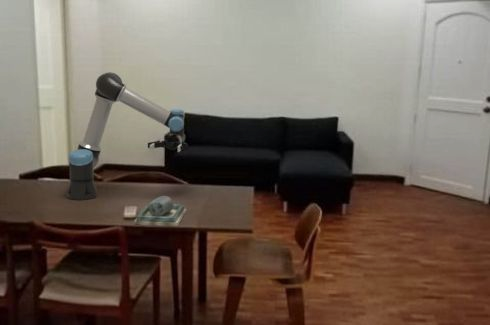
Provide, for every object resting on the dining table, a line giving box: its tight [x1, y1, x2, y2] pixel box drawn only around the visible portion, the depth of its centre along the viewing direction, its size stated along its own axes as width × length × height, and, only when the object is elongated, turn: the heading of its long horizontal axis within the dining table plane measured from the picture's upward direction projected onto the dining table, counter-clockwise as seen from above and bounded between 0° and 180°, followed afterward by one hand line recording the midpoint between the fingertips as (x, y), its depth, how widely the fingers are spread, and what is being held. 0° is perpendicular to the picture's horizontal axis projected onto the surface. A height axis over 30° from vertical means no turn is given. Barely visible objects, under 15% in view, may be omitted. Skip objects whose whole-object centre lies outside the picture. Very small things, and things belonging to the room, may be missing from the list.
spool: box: [148, 195, 174, 217], centre depth 247 cm, size 14×10×10 cm
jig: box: [133, 203, 187, 227], centre depth 248 cm, size 19×22×4 cm
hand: (164, 148), depth 264 cm, fingers open, 13 cm apart
